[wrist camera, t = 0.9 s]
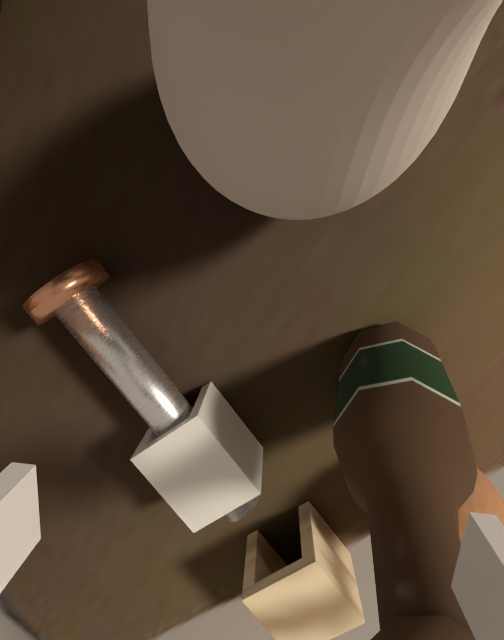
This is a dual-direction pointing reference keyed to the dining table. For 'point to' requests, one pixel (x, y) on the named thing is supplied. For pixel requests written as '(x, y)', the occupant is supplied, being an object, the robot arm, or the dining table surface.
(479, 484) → the egg
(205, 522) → the sleeve
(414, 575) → the beer bottle
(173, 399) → the bolt
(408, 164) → the vase
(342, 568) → the socket
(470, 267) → the dining table surface
